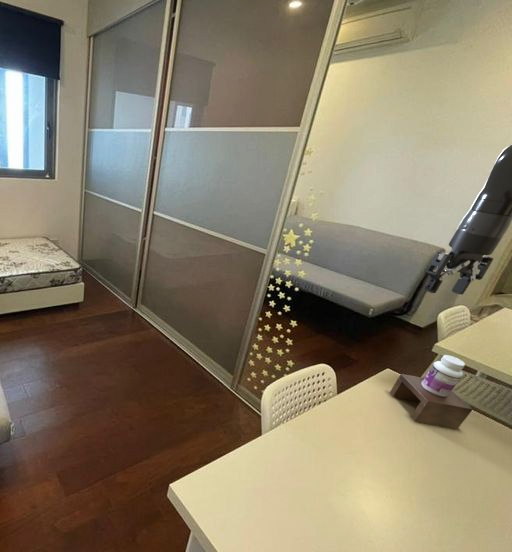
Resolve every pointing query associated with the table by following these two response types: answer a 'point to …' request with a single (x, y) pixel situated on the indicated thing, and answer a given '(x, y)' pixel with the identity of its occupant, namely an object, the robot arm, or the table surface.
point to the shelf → (431, 403)
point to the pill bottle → (443, 376)
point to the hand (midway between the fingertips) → (443, 292)
